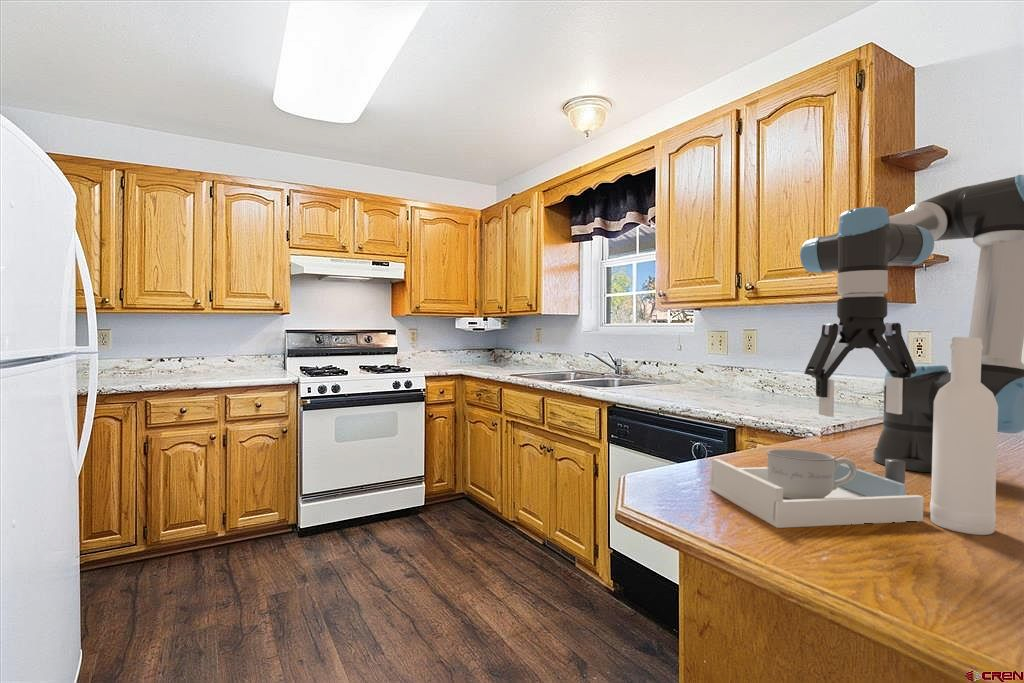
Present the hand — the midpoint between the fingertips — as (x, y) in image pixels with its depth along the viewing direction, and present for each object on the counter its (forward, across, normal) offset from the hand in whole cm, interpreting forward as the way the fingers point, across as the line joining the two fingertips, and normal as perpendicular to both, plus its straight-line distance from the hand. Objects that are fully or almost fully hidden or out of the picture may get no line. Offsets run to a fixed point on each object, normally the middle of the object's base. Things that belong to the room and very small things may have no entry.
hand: (860, 414), depth 96 cm
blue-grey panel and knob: (+15, -4, 0) cm, 15 cm away
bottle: (+16, -7, +13) cm, 22 cm away
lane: (+16, +7, 0) cm, 17 cm away
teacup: (+15, +10, 0) cm, 18 cm away
